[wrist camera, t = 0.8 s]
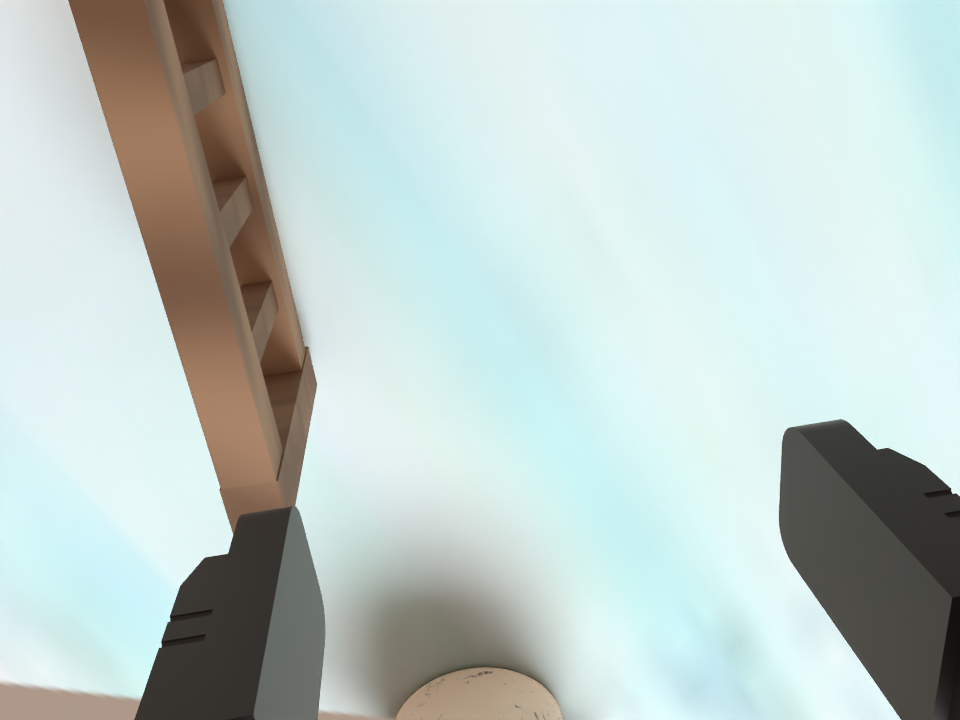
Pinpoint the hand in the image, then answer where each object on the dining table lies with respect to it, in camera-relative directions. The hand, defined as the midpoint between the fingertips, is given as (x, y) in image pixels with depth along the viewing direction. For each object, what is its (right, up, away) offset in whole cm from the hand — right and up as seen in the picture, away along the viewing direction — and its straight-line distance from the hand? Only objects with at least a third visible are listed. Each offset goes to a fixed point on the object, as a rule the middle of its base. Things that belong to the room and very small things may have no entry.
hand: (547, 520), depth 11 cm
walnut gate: (-9, +8, +16) cm, 20 cm away
